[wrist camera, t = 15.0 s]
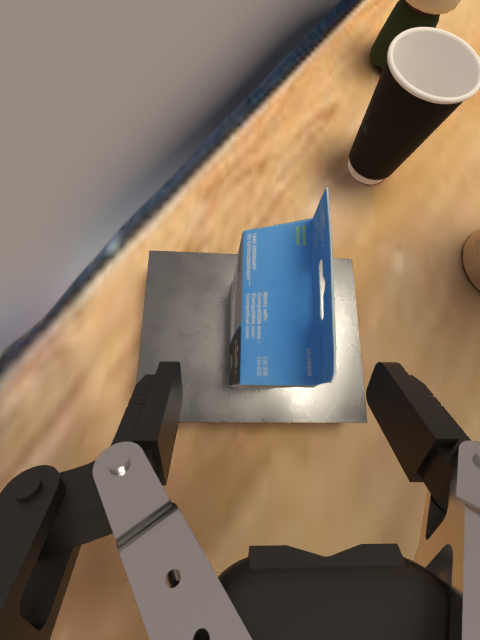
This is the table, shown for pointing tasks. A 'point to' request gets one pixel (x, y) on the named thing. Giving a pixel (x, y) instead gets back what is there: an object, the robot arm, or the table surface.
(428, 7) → the character mug
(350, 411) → the brushed metal plate
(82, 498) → the robot arm
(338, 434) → the table surface
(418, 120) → the dixie cup
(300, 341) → the label tape box
